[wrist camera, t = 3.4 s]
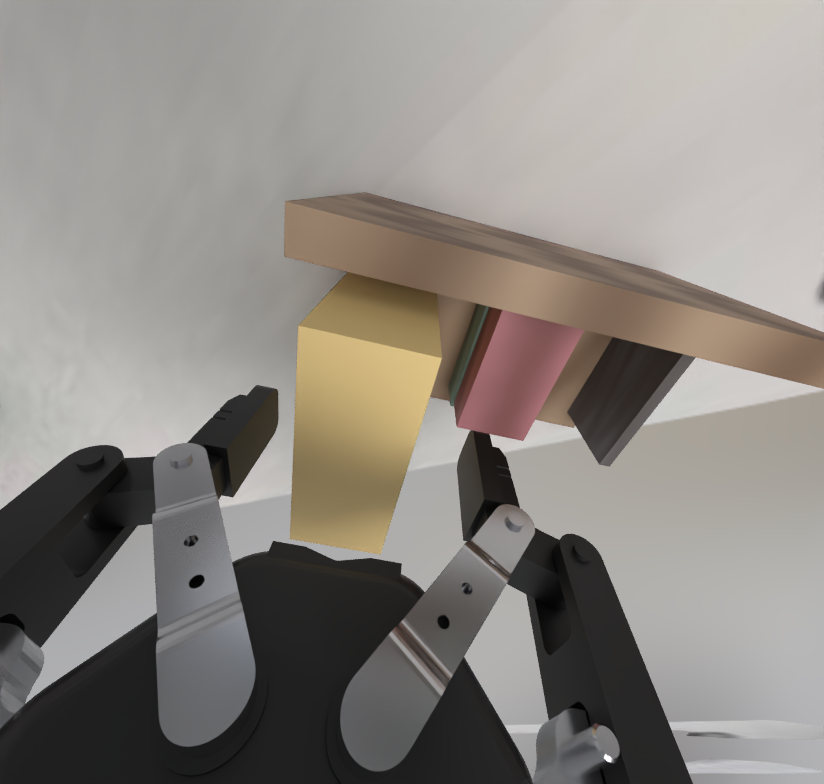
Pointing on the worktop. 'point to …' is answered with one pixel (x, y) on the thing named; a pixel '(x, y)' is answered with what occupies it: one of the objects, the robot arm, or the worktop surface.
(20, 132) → the worktop surface
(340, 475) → the ochre book
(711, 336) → the shelf
